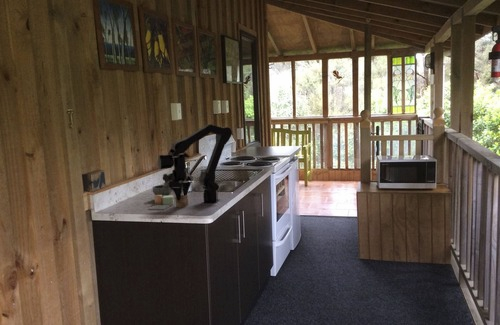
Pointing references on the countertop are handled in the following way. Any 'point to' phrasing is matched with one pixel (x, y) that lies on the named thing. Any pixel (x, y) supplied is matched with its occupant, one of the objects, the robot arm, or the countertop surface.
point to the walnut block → (182, 201)
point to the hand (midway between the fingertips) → (182, 198)
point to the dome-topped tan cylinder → (158, 199)
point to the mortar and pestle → (162, 189)
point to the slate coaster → (159, 207)
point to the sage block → (168, 200)
